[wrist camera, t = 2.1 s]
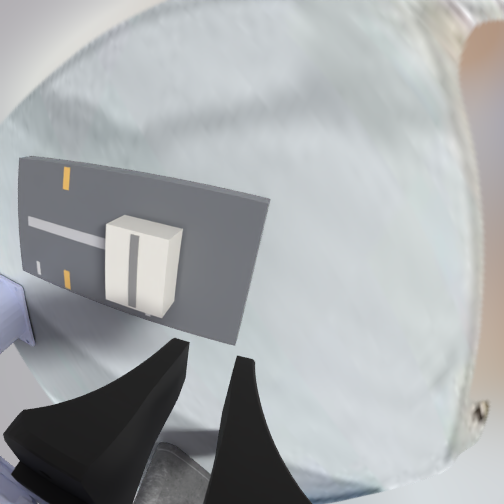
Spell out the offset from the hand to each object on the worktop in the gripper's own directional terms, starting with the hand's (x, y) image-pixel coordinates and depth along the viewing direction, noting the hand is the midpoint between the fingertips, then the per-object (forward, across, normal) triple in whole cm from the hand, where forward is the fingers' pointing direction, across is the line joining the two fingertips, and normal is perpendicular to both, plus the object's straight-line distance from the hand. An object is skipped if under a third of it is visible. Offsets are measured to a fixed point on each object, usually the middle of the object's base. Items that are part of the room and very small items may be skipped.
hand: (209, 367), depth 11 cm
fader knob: (+8, +6, 0) cm, 10 cm away
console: (+9, +10, 0) cm, 13 cm away
